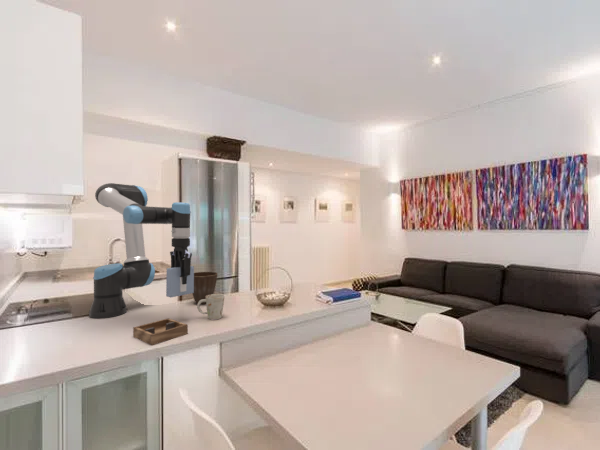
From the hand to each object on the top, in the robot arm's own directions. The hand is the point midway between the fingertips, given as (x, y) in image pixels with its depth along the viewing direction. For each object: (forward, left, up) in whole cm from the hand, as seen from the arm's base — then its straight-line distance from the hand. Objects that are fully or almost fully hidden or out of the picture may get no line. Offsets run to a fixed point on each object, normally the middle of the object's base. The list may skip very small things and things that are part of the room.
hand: (180, 290), depth 132 cm
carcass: (+9, -14, -13) cm, 22 cm away
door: (0, 0, -2) cm, 2 cm away
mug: (+6, +11, -14) cm, 19 cm away
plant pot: (-19, +25, -14) cm, 34 cm away
